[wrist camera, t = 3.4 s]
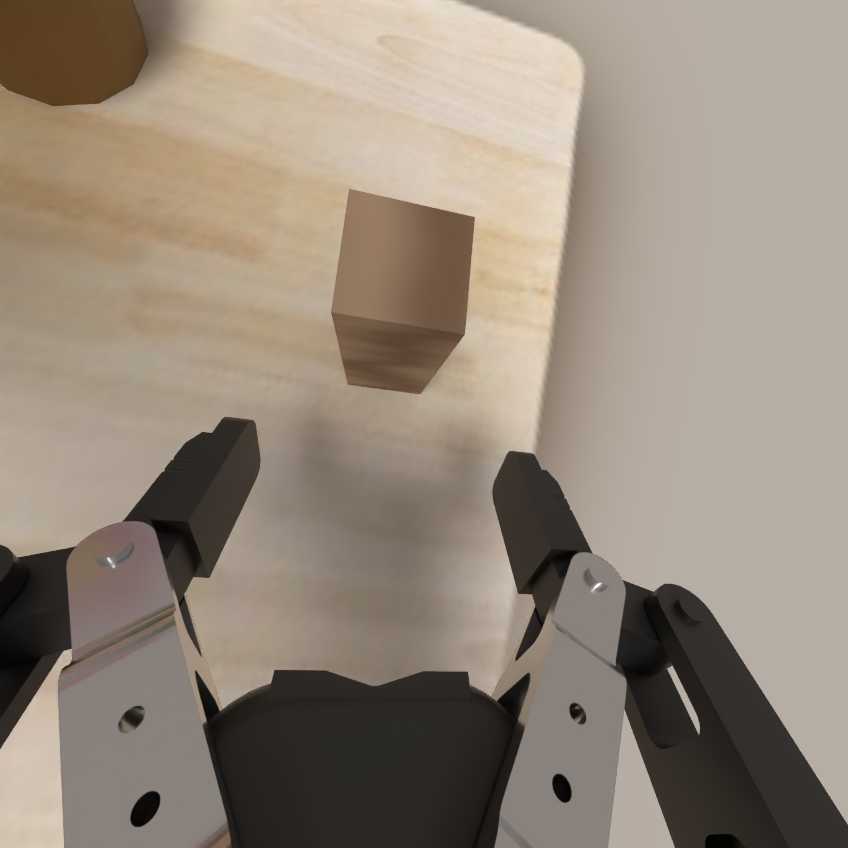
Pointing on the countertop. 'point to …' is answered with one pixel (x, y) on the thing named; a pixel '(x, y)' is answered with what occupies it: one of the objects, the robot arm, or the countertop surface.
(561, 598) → the robot arm
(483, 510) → the countertop surface
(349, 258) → the walnut block
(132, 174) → the countertop surface
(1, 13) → the flowerpot
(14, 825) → the countertop surface
